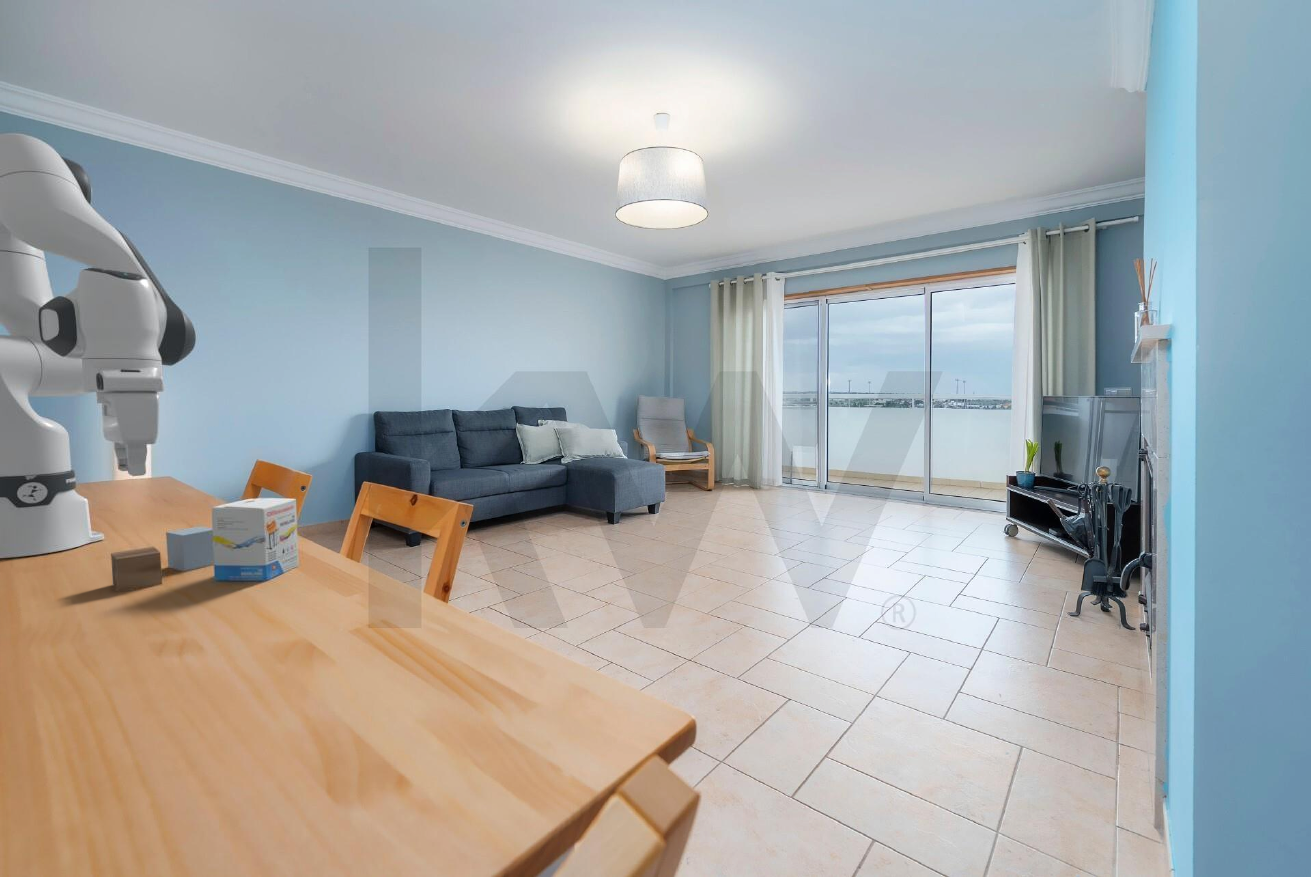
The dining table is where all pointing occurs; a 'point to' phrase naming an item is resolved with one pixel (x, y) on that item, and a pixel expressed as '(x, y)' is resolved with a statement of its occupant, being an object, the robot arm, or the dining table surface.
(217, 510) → the ink box
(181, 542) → the slate block
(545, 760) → the dining table surface
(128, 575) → the walnut block
